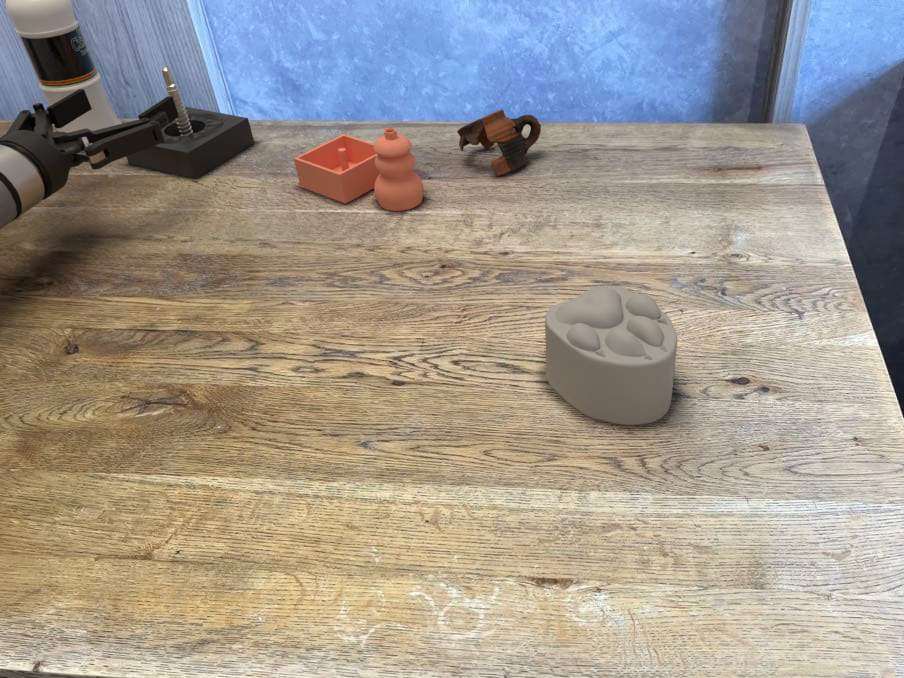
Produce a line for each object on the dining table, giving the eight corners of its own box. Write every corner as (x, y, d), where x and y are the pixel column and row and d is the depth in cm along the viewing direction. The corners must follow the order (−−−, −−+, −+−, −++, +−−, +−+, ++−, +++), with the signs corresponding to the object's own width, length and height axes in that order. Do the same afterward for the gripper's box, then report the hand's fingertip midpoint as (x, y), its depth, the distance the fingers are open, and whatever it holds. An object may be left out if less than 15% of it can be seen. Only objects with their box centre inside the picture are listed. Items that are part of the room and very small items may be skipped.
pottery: (300, 186, 115) (283, 118, 108) (349, 161, 120) (336, 95, 114) (393, 221, 107) (382, 150, 100) (441, 193, 112) (433, 123, 106)
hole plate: (129, 164, 122) (119, 138, 119) (190, 130, 130) (182, 105, 128) (196, 179, 117) (187, 152, 115) (254, 143, 126) (248, 117, 124)
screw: (182, 163, 121) (172, 152, 124) (214, 154, 123) (204, 144, 126) (152, 75, 113) (142, 65, 116) (187, 67, 115) (176, 57, 118)
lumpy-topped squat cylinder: (610, 334, 87) (612, 264, 81) (698, 395, 79) (708, 323, 74) (532, 373, 83) (529, 302, 77) (618, 443, 75) (621, 370, 69)
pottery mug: (480, 186, 114) (454, 129, 112) (472, 187, 123) (448, 134, 121) (557, 150, 115) (533, 93, 113) (543, 153, 124) (521, 100, 122)
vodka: (59, 141, 129) (-35, -76, 109) (120, 126, 132) (40, -86, 112) (68, 162, 123) (-30, -63, 103) (132, 147, 126) (49, -73, 106)
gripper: (-55, 192, 100) (61, 122, 115) (122, 213, 95) (219, 137, 110) (-88, 133, 95) (38, 68, 110) (97, 151, 90) (202, 81, 105)
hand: (129, 102), depth 110 cm, fingers open, 13 cm apart
